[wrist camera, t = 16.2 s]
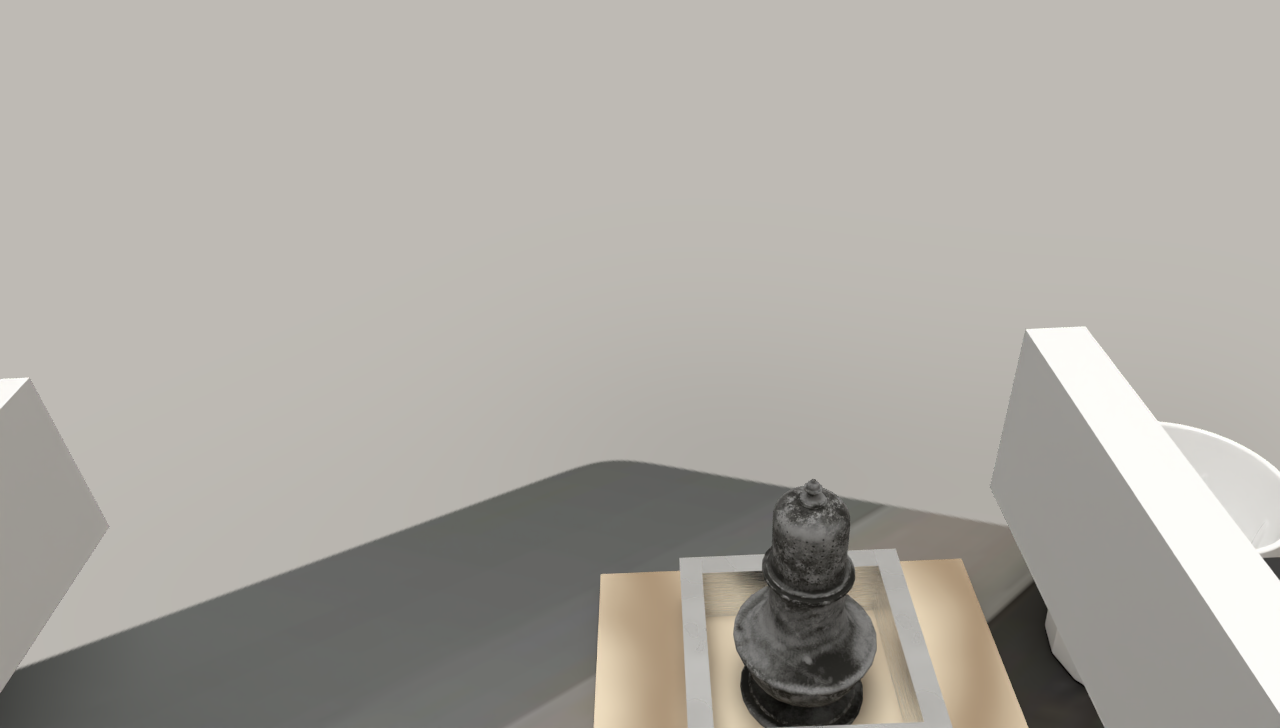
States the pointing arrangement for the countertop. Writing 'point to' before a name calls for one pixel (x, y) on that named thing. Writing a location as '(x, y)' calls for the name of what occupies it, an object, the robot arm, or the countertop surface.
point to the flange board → (655, 668)
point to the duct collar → (876, 587)
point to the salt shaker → (805, 619)
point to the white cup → (1241, 481)
